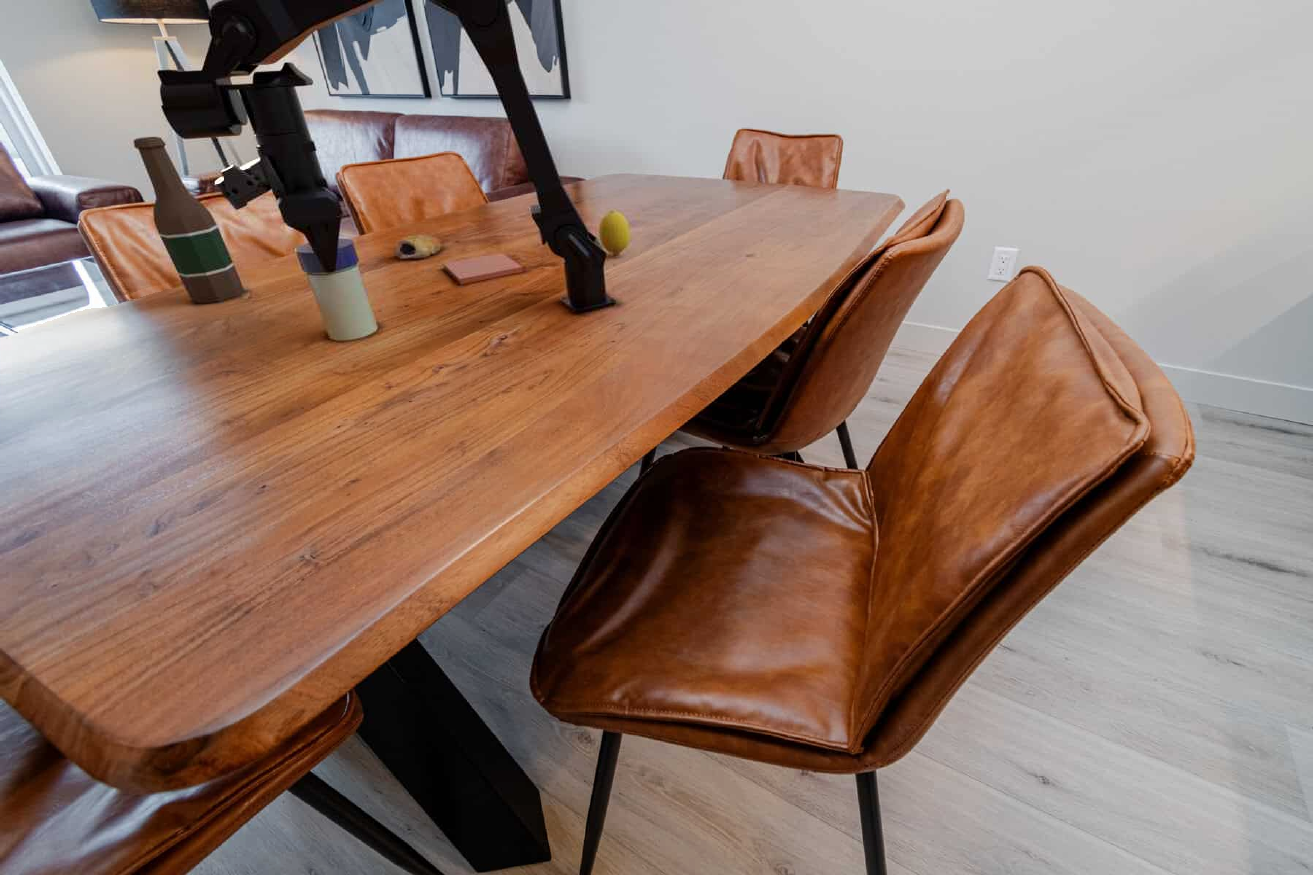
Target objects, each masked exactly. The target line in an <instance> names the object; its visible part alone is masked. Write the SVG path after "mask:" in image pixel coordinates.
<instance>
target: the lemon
mask: <svg viewBox="0 0 1313 875" xmlns="http://www.w3.org/2000/svg"><path fill="white" fill-rule="evenodd" d="M598 236H599V242H600V244H601V245H602V247H603V249H604V250H605V251H608V252H609V253H612V255H613V256H617V257H618V256H619V255H620V253H621V252H623V251H624V250H626V248H627V247H628V246H629V243H630V239H631V231H630V226H629V223H628V221H627V219H626V217H625V216H624V215H623V214H621V213H620V212H617V211H616V210H614V209H613V210H612V209H611V210H610V211H609V212H608V213H606V214H605V215H604V216H602V218H601V220H600V222H599V228H598Z"/></svg>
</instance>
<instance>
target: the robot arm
mask: <svg viewBox="0 0 1313 875" xmlns="http://www.w3.org/2000/svg"><path fill="white" fill-rule="evenodd" d="M385 1H386V0H219V1H216V3H214V4H213V5H211V7H210V9H209V10H208V21H207V22H208V23H207V25H208V30H209V35H210V36H211V38H210V42H209V45H208V49H207V52H206V55H205V58H204V61H203V65H202V68H201V69H199V70H197V69H196V70H181V69H159V70H157V72H156V73H157V76H158V78H159V80H160V86H159V94H160V101H161V104H162V105H160V106H161V110H162V112H163V115H164V117H165V119H166V121H167V122H168V124H169V126H170V127H171V128H172V130H173V131H174V132H175V134H176V135H177V136H178V137H180V138H181V139H183V140H194V139H206V138H207V139H210V138H224V137H225V138H226V137H227V138H228V137H239V136H241V135H242V133H243V126H247V125H248V123H249V124H250V126H251V128H252V131H253V135H254V137H255V140H256V143H257V146H256V147H255V148H256V152H257V154H258V158H256V159H254V160H252V161H250V162H248V163H245V164H244V165H242V166H240V167H239V166H237V165H236V164H231V165H230V166H229V167H227V168H225V169H222V170H221V177H219V178H218V179H216V180H215V181H214V187H216V188H217V190H218V191H219V192H220V194H221V195H222V196H223V198H224V199H226V200H227V202H228V203H229V204H230V205H231V206H232V207H233V208H234V210H235V211H238V210H240V209H241V210H242V208H245V207H246V206H248V203H250V202H252V201H254V200H255V199H257V198H259V197H261V196H263V195H265V194H267V193H268V192H270V191H271V192H272V195H273V196H274V198H275V200H276V204H277V207H278V209H279V212H280V215H281V218H282V221H283V224H285V225H286V226H287V227H289V228H290V229H291V228H292V229H293V230H295V231H297V232H299V233H301V234H303V235H304V237H305V239H306V240H307V243H309V244H310V245H311V247H312V249H313V251H314V252H315V254H316V256H317V258H318V259H319V261H320V263H321V265H322V266H323V268H324V270H325V271H326V272H327V273H331V272H335V271H336V261H337V250H338V241H339V238H340V233H341V232H340V231H341V224H342V219H343V216H344V212H343V210H342V209H343V208H342V206H341V202H340V200H339V197H338V196H337V195H336V194H335V193H334V192H332V191H331V190H329V189H328V188H329V184H328V182H327V179H326V177H324V174H323V170H322V168H321V163H320V161H319V158H318V155H317V147H316V144H315V141H314V140H313V139H312V136H311V133H310V131H309V126H308V124H307V121H306V117H305V114H304V111H303V107H302V105H301V102H300V98H299V95H298V92H297V90H296V89H297V88H296V87H308V86H312V85H313V84H314V80H313V79H312V78H311V77H309V76H308V75H306V74H305V73H304V72H302V71H301V70H300V69H299V68H298V67H297V66H296V65H295V64H294V63H293V62H290V61H289V62H287V61H286V62H285V61H284V63H283V66H282V67H281V69H280V70H263V71H262V70H261V71H255V70H257V68H258V67H260V66H269V65H273V64H276V63H277V62H279V61H280V60H282V59H284V58H285V57H286V56H287V55H288V54H290V53H291V52H293V51H294V50H295V49H296V48H298V47H299V46H300V45H301V44H302V43H303V42H304V41H306V39H308V37H310V36H311V35H313V34H314V33H315V32H316V31H318V30H320V29H322V28H324V27H327V26H329V25H331V24H334V23H336V22H338V21H341V20H343V19H345V18H348V17H350V16H352V15H354V14H357V13H360V12H361V11H364V10H366V9H368V8H371V7H373V6H375V5H378V4H380V3H382V2H385ZM427 1H428V2H429V3H432V4H434V5H435V6H437V7H439V8H440V9H442V10H445V11H446V12H448V13H450V14H452V15H453V16H456V17H457V18H458V21H459V22H460V24H461V26H462V28H463V29H464V31H465V33H466V35H467V36H468V37H469V40H470V42H471V44H472V45H473V47H474V48H475V50H476V52H477V54H478V56H479V57H480V59H481V61H482V63H483V65H484V66H485V69H486V70H487V72H488V73H489V74H490V77H491V78H492V82H493V84H494V87H495V89H496V92H497V95H498V97H499V99H500V102H501V105H502V107H503V109H504V112H505V115H506V116H507V117H506V118H507V120H508V123H509V125H510V127H511V130H512V133H513V135H514V136H513V137H514V138H515V141H516V144H517V145H518V148H519V150H520V154H521V156H522V159H523V161H524V164H525V167H526V169H527V171H528V174H529V177H530V180H531V182H532V185H533V187H534V190H535V195H536V200H537V204H532V205H529V213H530V216H531V218H532V220H533V221H534V224H535V225H536V227H537V228H538V233H539V237H540V242H541V244H542V245H543V246H545V245H546V244H547V245H548V248H549V249H550V252H552V253H553V254H554V255H555V256H558V257H559V258H561V259H563V260H564V262H563V271H564V277H565V279H564V280H565V287H566V294H567V296H562V297H560V298H559V302H560V303H562V304H563V305H564V306H566V307H567V308H568V309H570V310H571V311H573V312H574V313H576V314H579V313H583V312H588V311H592V310H596V309H600V308H601V309H602V308H605V307H609V306H613V305H616V304H617V300H616V299H614V298H613V297H611V296H610V295H609V294H607V288H606V287H607V286H606V277H605V264H606V259H607V256H608V255H607V252H606V249H605V248H604V247H603V245H602V244H601V241H600V239H598V237H596V236H595V235H594V234H593V233H592V232H590V231H589V230H588V228H587V226H586V224H585V222H584V220H583V219H582V217H581V215H580V212H578V210H577V208H576V206H575V205H574V203H573V200H572V199H571V197H570V195H569V194H568V192H567V190H566V189H565V187H564V185H563V183H562V180H561V177H560V175H559V171H558V169H557V166H556V163H555V161H554V159H553V155H552V153H551V150H550V147H549V145H548V142H547V139H546V136H545V134H544V130H543V127H542V125H541V122H540V120H539V119H540V118H539V116H538V114H537V111H536V108H535V106H534V102H533V100H532V98H531V95H530V92H529V89H528V87H527V83H526V80H525V78H524V75H523V73H522V70H521V66H520V62H519V57H518V50H517V46H516V41H515V35H514V30H513V26H512V20H511V15H510V10H509V5H508V1H507V0H427ZM253 72H254V73H253ZM251 75H252V83H234V84H233V82H232V80H231V78H232V77H233V78H234V77H248V76H251Z"/></svg>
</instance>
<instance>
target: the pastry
mask: <svg viewBox="0 0 1313 875" xmlns="http://www.w3.org/2000/svg"><path fill="white" fill-rule="evenodd" d="M441 242H442V241H441V240H440V238H439V237H437V236H431V235H428V234H426V235H425V234H418V235H417V234H410V235H409V236H406V237H403V238H401V239H399V240H398V241H397V245H396V246H395V251H394V254H395V256H397V258H399V259H400V260H411V259H415V260H417V259H425V258H427V257H429V256H430V255H431V254H433V255H435V254H436V253H438V252H439V251H440V250H441V248H442V243H441Z"/></svg>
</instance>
